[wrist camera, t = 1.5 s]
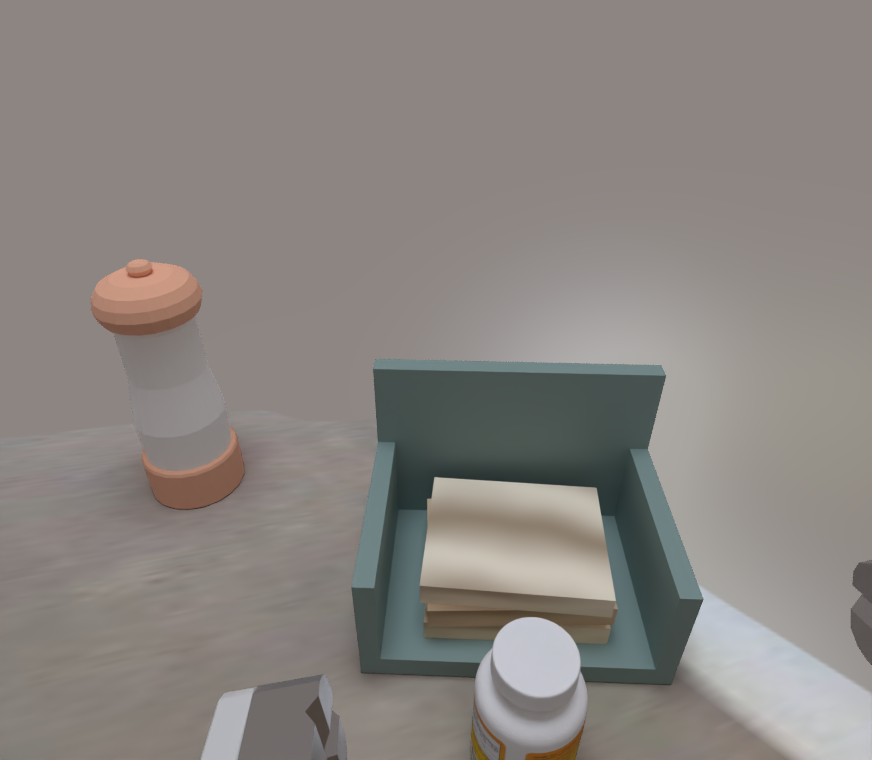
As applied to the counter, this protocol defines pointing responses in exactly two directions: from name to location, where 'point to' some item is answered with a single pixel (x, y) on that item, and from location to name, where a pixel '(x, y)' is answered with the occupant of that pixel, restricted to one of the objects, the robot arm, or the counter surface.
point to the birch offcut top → (517, 548)
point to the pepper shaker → (170, 383)
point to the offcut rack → (522, 463)
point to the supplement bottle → (529, 695)
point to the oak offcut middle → (500, 613)
